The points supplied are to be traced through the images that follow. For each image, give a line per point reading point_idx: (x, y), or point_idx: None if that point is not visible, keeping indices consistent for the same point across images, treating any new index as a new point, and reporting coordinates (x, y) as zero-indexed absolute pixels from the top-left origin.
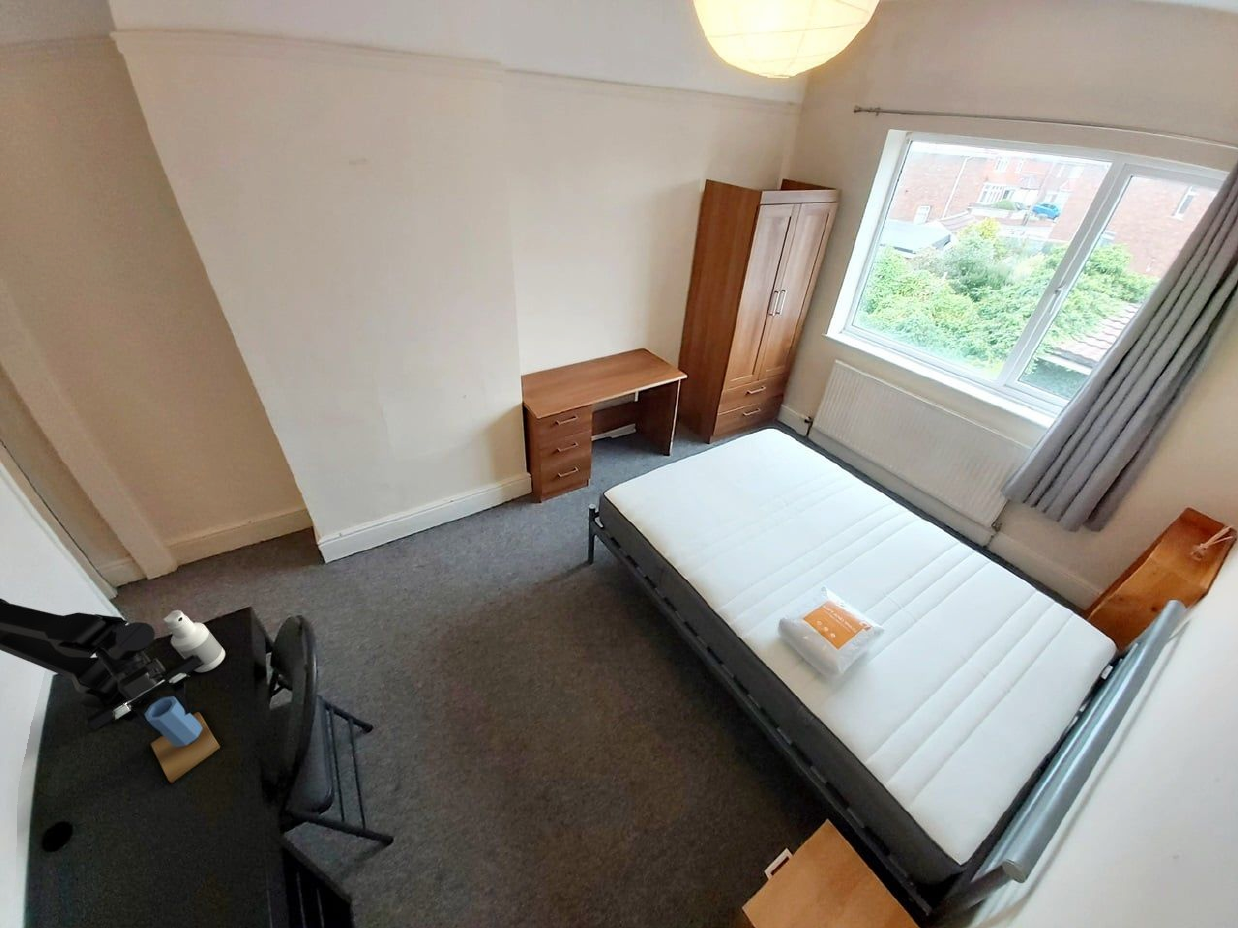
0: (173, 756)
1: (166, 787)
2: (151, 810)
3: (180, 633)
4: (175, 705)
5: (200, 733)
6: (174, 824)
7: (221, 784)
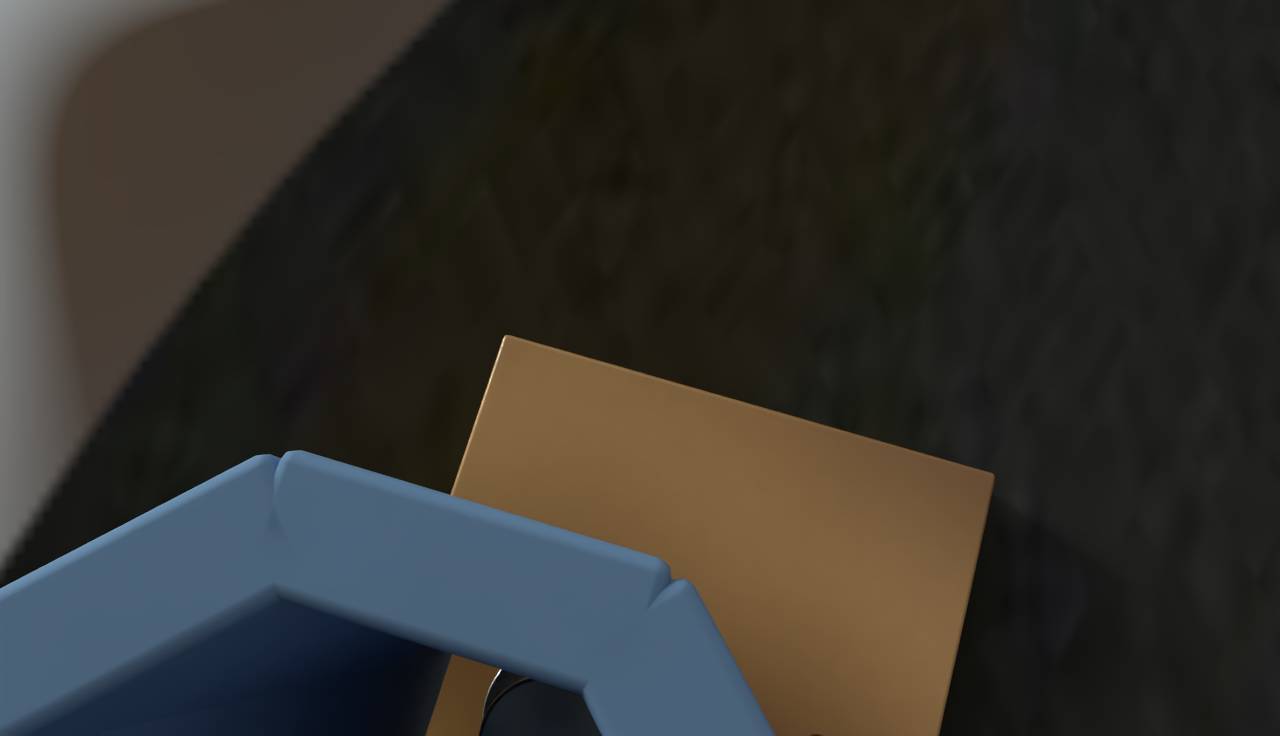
0: (803, 716)
1: (1026, 490)
2: (1224, 405)
3: None
4: (27, 575)
5: (479, 680)
6: (1176, 75)
7: (765, 4)
